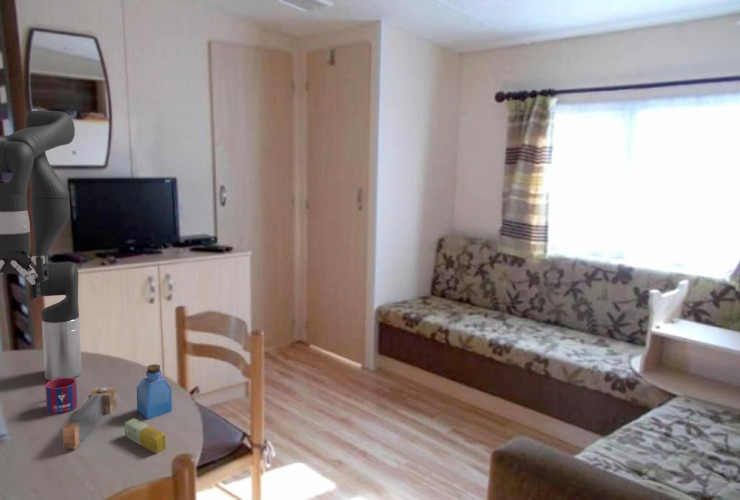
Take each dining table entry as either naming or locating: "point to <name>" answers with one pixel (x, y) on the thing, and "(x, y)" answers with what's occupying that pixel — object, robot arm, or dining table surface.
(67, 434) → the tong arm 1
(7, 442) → the dining table surface
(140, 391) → the perfume bottle
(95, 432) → the dining table surface
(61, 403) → the mug
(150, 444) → the medication box
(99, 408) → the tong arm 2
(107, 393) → the block
